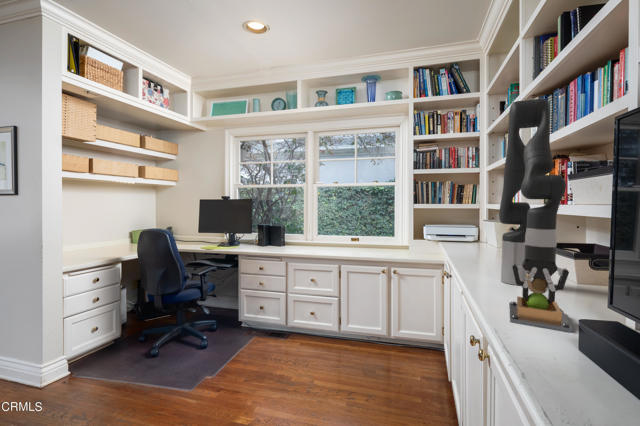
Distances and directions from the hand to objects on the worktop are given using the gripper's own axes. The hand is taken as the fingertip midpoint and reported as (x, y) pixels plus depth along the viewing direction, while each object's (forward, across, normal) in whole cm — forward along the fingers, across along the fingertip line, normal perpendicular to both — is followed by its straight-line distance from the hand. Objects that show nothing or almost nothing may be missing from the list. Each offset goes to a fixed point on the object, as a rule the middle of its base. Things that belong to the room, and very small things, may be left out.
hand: (537, 301), depth 94 cm
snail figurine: (+3, 0, 0) cm, 3 cm away
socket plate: (+5, 0, 0) cm, 5 cm away
